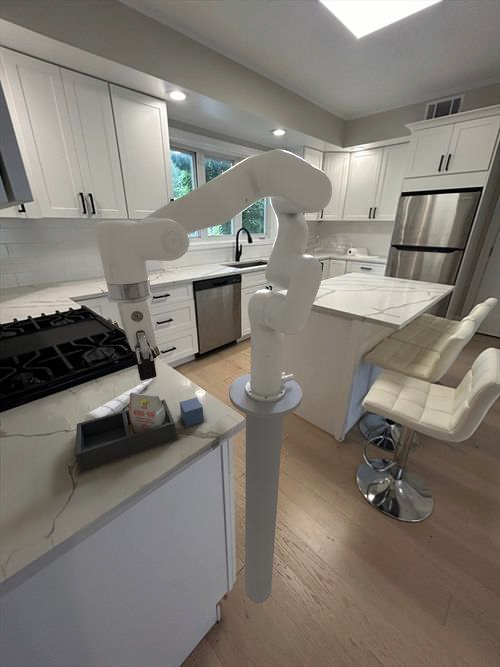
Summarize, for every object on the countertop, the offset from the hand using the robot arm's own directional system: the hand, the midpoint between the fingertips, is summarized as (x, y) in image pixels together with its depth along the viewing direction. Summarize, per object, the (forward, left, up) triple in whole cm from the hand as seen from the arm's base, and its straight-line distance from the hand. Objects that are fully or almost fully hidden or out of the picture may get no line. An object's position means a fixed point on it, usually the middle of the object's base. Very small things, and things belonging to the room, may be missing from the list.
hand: (144, 367), depth 60 cm
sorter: (+6, 0, -17) cm, 18 cm away
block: (-9, 0, -17) cm, 20 cm away
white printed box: (+1, 0, -17) cm, 17 cm away
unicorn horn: (+5, -14, -18) cm, 23 cm away
